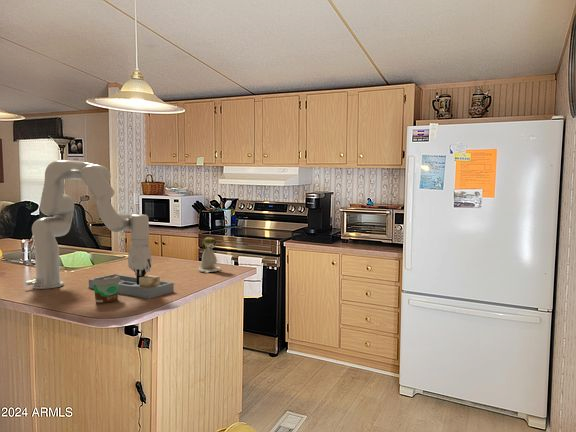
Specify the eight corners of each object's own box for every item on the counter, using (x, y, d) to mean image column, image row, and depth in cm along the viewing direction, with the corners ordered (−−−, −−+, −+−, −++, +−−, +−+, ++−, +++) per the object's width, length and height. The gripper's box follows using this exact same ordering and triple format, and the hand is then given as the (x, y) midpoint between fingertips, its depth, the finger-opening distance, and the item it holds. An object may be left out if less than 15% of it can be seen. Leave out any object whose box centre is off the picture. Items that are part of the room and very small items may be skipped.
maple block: (149, 290, 189) (149, 279, 189) (139, 289, 192) (139, 277, 192) (159, 287, 194) (159, 276, 194) (149, 286, 197) (149, 275, 197)
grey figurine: (196, 273, 236) (195, 238, 235) (200, 268, 249) (200, 235, 248) (218, 273, 236) (218, 238, 235) (222, 268, 249) (222, 235, 248)
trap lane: (149, 298, 184) (149, 289, 183) (88, 287, 202) (88, 279, 202) (173, 291, 196) (173, 282, 196) (114, 282, 214) (114, 273, 214)
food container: (105, 306, 172) (104, 280, 171) (92, 304, 174) (92, 279, 174) (127, 298, 184) (127, 274, 183) (115, 297, 186) (115, 273, 185)
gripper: (121, 242, 195) (122, 284, 196) (145, 245, 187) (146, 288, 189) (134, 240, 201) (135, 280, 203) (158, 243, 194) (159, 284, 195)
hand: (140, 284), depth 196 cm, fingers closed
